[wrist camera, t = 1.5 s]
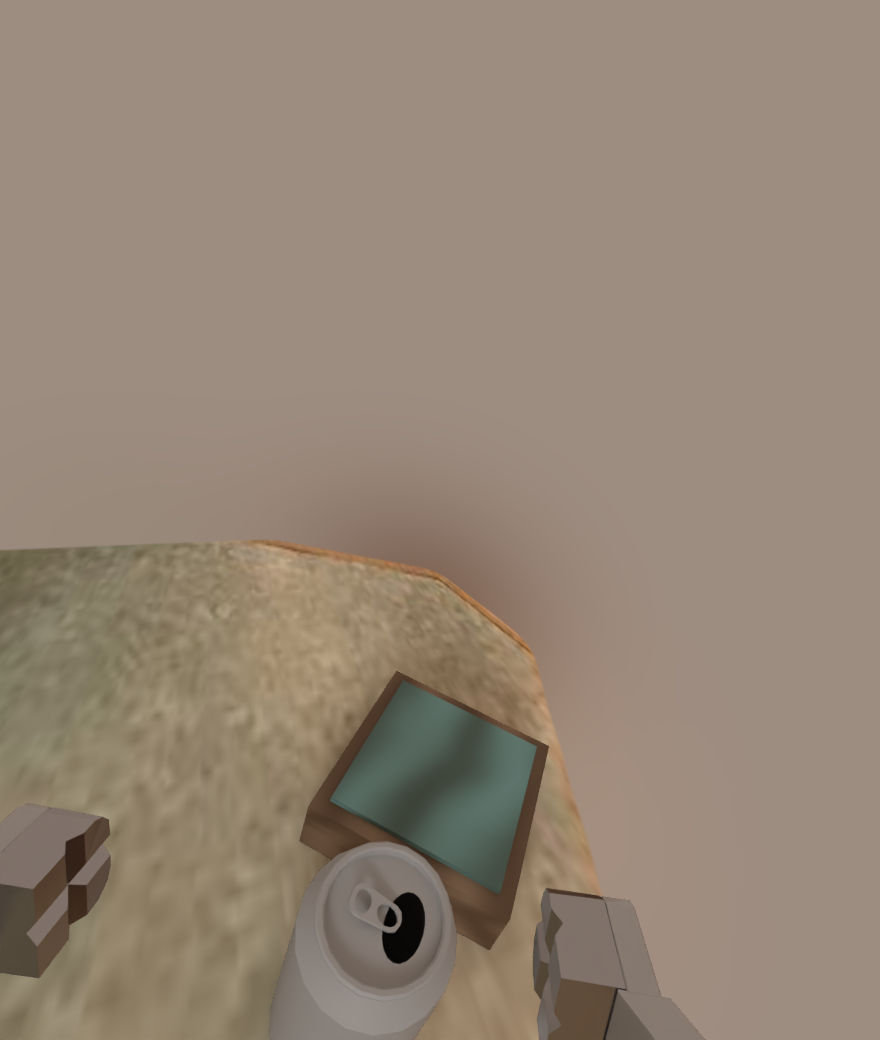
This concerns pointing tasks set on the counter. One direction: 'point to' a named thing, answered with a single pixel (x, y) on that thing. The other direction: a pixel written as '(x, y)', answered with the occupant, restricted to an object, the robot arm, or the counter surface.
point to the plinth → (437, 798)
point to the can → (366, 949)
